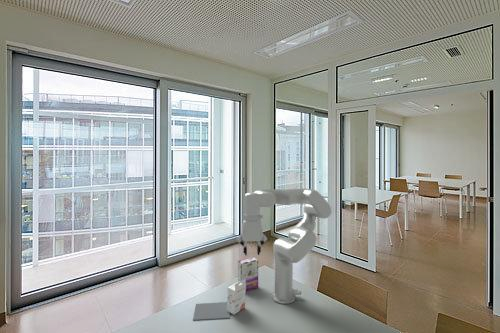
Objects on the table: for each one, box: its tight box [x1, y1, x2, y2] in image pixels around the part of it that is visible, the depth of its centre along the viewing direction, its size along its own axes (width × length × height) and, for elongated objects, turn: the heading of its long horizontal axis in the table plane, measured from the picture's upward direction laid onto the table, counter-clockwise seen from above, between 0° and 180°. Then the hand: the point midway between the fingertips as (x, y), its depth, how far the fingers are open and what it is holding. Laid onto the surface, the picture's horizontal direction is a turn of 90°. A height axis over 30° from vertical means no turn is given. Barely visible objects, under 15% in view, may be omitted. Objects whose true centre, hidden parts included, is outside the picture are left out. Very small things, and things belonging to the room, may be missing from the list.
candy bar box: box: [237, 256, 259, 292], centre depth 147 cm, size 11×5×16 cm, turn 117°
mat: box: [192, 301, 231, 322], centre depth 124 cm, size 17×13×1 cm
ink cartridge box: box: [226, 279, 247, 315], centre depth 125 cm, size 9×5×15 cm, turn 143°
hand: (252, 253), depth 126 cm, fingers open, 5 cm apart
